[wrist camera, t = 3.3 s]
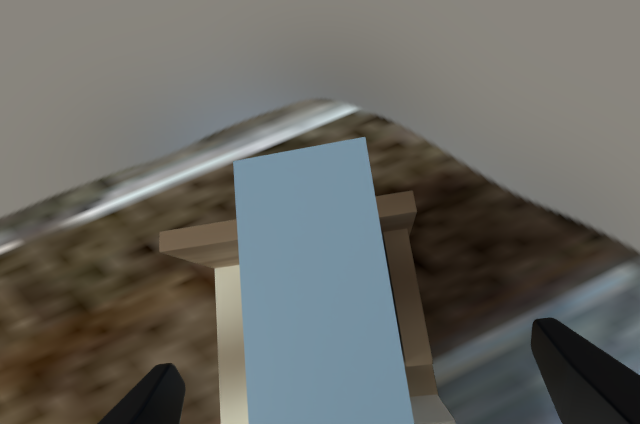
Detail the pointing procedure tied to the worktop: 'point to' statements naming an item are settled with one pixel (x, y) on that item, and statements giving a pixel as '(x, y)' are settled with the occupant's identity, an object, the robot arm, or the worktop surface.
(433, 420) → the upper offcut
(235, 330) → the stand
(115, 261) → the worktop surface
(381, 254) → the blue rectangular block
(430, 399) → the block
